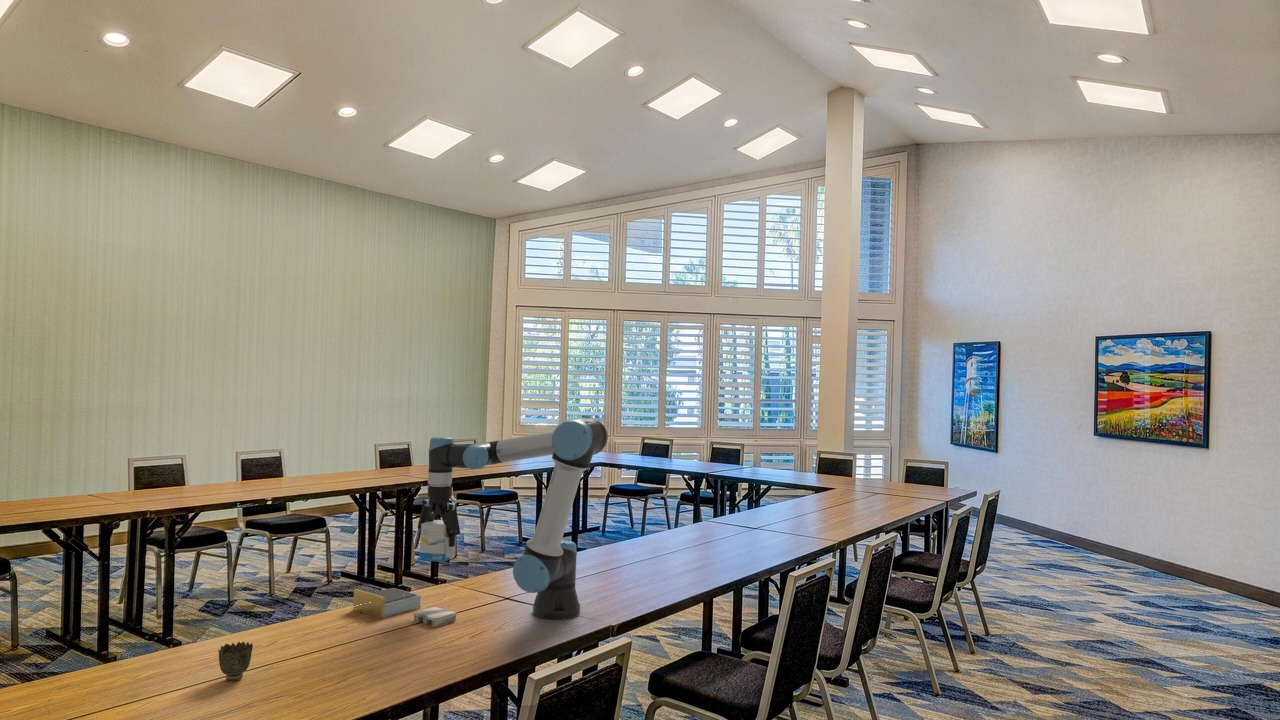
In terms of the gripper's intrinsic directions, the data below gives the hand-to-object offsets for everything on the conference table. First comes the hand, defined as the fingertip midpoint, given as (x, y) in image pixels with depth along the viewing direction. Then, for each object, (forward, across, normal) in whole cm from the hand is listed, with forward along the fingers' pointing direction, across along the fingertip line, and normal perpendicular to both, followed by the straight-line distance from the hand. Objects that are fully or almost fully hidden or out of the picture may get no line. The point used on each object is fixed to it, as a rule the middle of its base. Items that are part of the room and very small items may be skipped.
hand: (437, 554), depth 249 cm
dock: (+17, +12, +9) cm, 23 cm away
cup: (+18, -8, +69) cm, 72 cm away
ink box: (+2, 0, 0) cm, 2 cm away
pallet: (+18, -9, +8) cm, 21 cm away
